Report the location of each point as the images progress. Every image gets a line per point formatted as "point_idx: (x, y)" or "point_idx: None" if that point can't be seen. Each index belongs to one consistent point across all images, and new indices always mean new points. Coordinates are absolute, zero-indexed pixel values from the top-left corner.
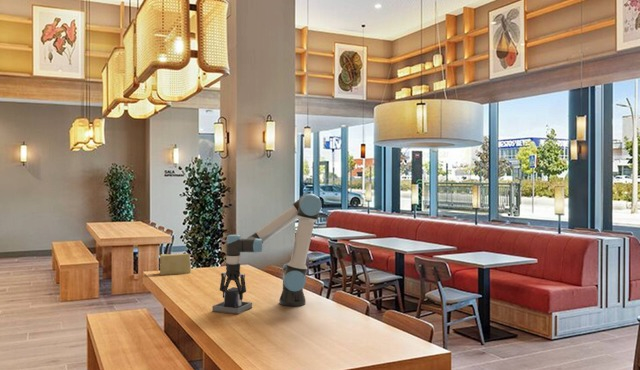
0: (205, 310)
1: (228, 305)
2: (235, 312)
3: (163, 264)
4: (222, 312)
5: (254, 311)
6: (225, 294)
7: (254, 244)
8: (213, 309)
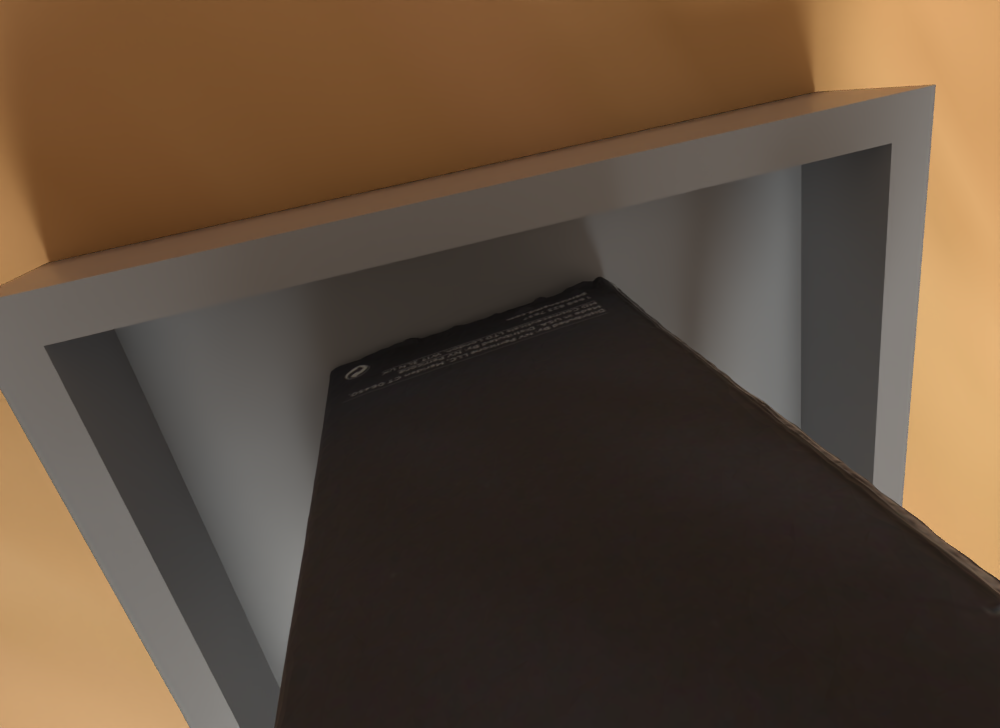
0: (995, 73)
1: (509, 359)
2: (117, 251)
3: None
4: (542, 154)
5: (11, 704)
6: (885, 529)
7: None
8: (825, 95)
